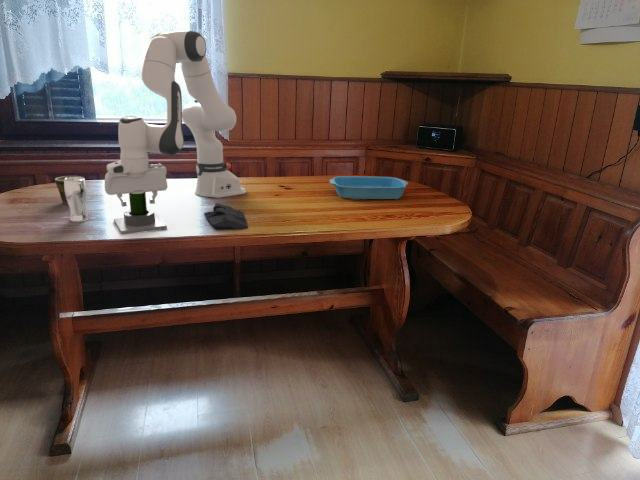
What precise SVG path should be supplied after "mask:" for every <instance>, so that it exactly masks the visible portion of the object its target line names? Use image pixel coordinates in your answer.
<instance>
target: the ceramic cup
mask: <svg viewBox="0 0 640 480" xmlns="http://www.w3.org/2000/svg"><path fill="white" fill-rule="evenodd" d="M69 177H82V176H79V175H64V176H59V177H55V179H54V181H55V185H56V187H57V189H58V193H59V196H60V199H61V201H62V204H63V205H66V206H69V205H68V202H67V199H66V195H65V189H64V179H65V178H69Z"/></svg>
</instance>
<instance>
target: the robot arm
mask: <svg viewBox="0 0 640 480" xmlns="http://www.w3.org/2000/svg"><path fill="white" fill-rule="evenodd" d="M206 53H207V44H206V40H205V38H204V37H203V36H202V34H200V32H198V31H195V30H194V31H193V30H187V31H184V30H174V31H168V32H158V33H155V34H153V35H152V36H151V37H150V39H149V41H148V44H147V48H146V50H145V53H144V57H143V60H142V61H143V62H142V66H141V67H142V68H141V76H140V77H141V80H142V82H143V84H144V86H145V87H146V88H147V89H149V91H150V92H152V93H154V94H156V95H158V96H160V97H162V98H164V99H165V100H166V109H167V110H166V114H167V115H166V123H165V124H164V125H161V124H160V125H159V124H149V123H147V122H145V121H144V117H142V116H139V115H126V116H123V117H121V118H120V119H119V121H118V131H117V133H118V145H119V147H120V153H119V155H120V156H119V158H120V159H119V160H116V161H114V162H113V161H112V162H111V163H107V165H106V171H107V172H106V173H105V175H104V191H105V193H106V194H107V195H109V196H114V195H115V196H116V197H117V198H118V199H119V201H120V204H121V207H127V206H128V205H127V200H126V199H122V198H123V195H125V194H126V195H127V194H128V195H129V193H133V191H136V190H143V192H145V193H147V192H148V193H149V192H150V193H151V192H152V196H151V197H148V199H149V204H151V205H153V204H156V201H155V199H156V198H157V196H158V192H160V191H167V189H168V181H167V177H166V176H167V174H168V173H167V167H166V166H165V165H163V164H162V163H158V164H154V163H153V164H152V163H151V164H149V154H148V153H153V154H162V155H167V156H175V155H177V154H178V153H179V152H180V151H181V150H182V149H183V147H184V144H185V143H184V133H183V123H184V125H186V126H187V127H188V128H189V130H190V132H191V133H192V135H193V138H194V141H195V145H196V156H197V161H196V174H197V180H196V189H195V192H194V194H196V195H198V196H201V197H207V198H208V197H210V198H216V199H218V198H225V197H231V196H239V195H244V194H246V193H247V191H246V188H244V187H243V186H241V185H242V184H241V181H240V179H239V177H237V176H236V175H235V174H234V173H233V172H231V171H230V170H229V169H231V167H232V164H231V163H229V162H225V161H224V150H223V149H224V146H223V143H222V141H220V140H219V139H218V138H217V137H216V136H215V132H214V131H216V132H227V131H231V130H233V129H234V127H235V126H236V124H237V115H236V112H235V110H234V108H232V107H231V106H229V105H228V104H227V103H226V102H225V100H224V99H223V98H222V96H221V95H220V93H219V92H218V90H217V88H216V85H215V81H214V79H213V75H212V72H211V68H210V65H209V64H210V63H209V61H208V58H207V55H206ZM177 64H180V67H181V72H182V75H183V79H184V83H185V85H186V89H187V90H186V91H187V92H188V94H189V95H190V97H191V98H192V99H195V101H196V102H193V103H188V104H185V106H183V99H182V98H183V97H182V90H181V86H180V84H179V83H178V82H177V81H176V78H175V74H176V68H177V67H176V65H177Z"/></svg>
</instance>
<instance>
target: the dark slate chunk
mask: <svg viewBox="0 0 640 480" xmlns="http://www.w3.org/2000/svg"><path fill="white" fill-rule="evenodd" d="M203 215H204V217H205V218H206V220H207V221H208V222H209V223H210V225H211V227H213V228H214V229H231V230H233V229H234V230H244V229H249V226H248V223H247V219H246V217H245V214H244V211H241V210H238V209H236V208H233V207H232V206H230V205H227V204H223V203H218V202H216V203H214V206H213V210H212V211H211V210H210V211H207V212H203Z"/></svg>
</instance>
